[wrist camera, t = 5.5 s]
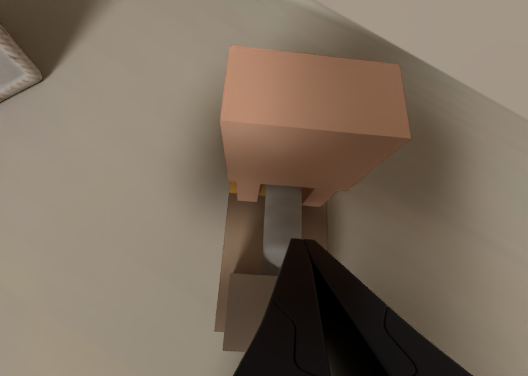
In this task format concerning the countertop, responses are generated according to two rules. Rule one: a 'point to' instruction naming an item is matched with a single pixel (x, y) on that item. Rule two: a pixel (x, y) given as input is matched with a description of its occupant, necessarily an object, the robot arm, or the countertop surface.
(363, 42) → the countertop surface
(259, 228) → the pipe stand
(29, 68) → the decorative jar
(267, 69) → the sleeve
